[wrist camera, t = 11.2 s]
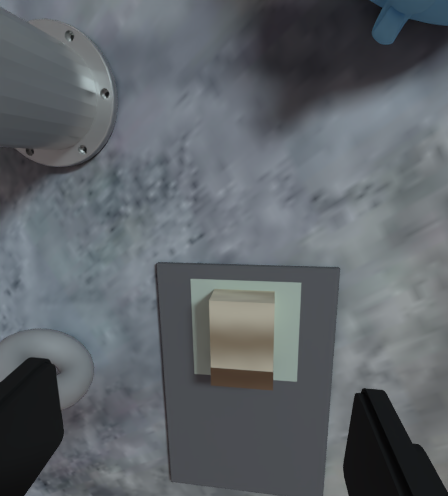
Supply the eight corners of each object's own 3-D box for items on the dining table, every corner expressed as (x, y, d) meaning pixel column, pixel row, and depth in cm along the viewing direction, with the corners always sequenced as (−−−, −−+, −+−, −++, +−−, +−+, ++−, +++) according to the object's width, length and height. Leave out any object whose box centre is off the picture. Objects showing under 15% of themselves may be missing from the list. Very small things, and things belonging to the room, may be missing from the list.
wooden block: (272, 371, 35) (272, 390, 32) (216, 367, 36) (211, 385, 33) (274, 291, 32) (275, 303, 30) (214, 288, 33) (208, 300, 30)
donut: (115, 353, 38) (61, 418, 28) (104, 374, 39) (48, 444, 29) (40, 308, 38) (-40, 358, 28) (30, 331, 39) (-50, 386, 29)
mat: (172, 477, 41) (171, 482, 40) (158, 262, 34) (156, 263, 34) (321, 496, 38) (322, 501, 38) (339, 267, 32) (340, 269, 31)
